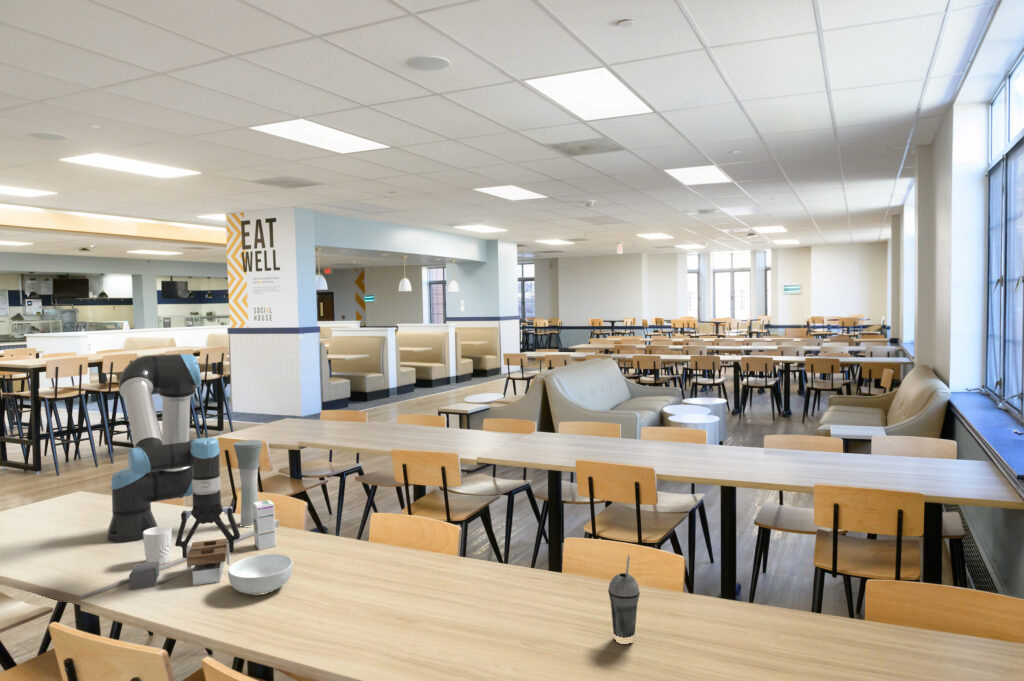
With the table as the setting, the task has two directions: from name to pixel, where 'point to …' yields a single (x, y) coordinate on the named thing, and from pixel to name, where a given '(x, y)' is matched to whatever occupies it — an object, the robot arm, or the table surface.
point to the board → (207, 552)
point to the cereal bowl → (260, 573)
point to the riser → (144, 575)
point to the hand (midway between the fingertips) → (209, 565)
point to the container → (248, 477)
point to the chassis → (207, 573)
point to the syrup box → (264, 524)
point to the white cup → (158, 544)
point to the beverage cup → (624, 603)
